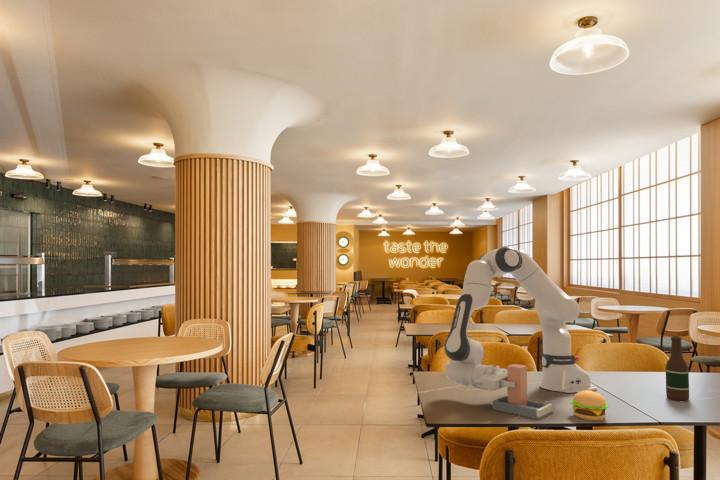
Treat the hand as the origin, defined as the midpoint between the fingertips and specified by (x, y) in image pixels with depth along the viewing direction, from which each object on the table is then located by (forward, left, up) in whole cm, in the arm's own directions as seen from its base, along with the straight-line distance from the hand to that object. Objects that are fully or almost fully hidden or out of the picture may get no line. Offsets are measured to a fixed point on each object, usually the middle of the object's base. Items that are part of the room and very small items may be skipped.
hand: (519, 383), depth 184 cm
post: (+1, -1, -8) cm, 8 cm away
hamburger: (-21, +10, -10) cm, 25 cm away
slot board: (-1, +1, -10) cm, 10 cm away
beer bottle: (-68, -7, -10) cm, 69 cm away
